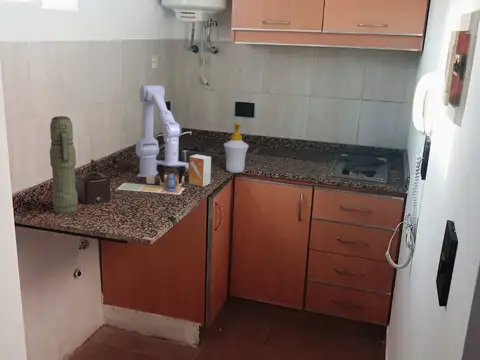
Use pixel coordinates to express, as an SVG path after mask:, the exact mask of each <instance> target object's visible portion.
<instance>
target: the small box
mask: <svg viewBox="0 0 480 360" xmlns="http://www.w3.org/2000/svg"><path fill="white" fill-rule="evenodd" d="M188 159H189V160H188V161H189V162H188V163H189V167H188V184H190V185H194V186H199V187H203V188H204V187H205V186H208V184H209V185H210V184H211V175H212V174H211V171H212V168H211V167H212V156H210V155H209V156H207V155H203V154H197V153H196V154H192V155H190V156H189V158H188Z"/></svg>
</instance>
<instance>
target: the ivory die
mask: <svg viewBox="0 0 480 360" xmlns="http://www.w3.org/2000/svg"><path fill="white" fill-rule="evenodd" d="M155 177H156V176H154V174H148V175H146V177H145V178H146V179H145V181H146V182H145V183H146V185H153V184H156V183H155V180H156V179H155Z"/></svg>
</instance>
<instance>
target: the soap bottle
mask: <svg viewBox="0 0 480 360" xmlns="http://www.w3.org/2000/svg"><path fill="white" fill-rule="evenodd" d="M233 124H234V130H235V131H233V132H232V133H233V134H231V136H230V140H228V141H227V142H224V143H223V147H224V150H225V158H226V159H225V168H226V169H225V170H226V171H227V172H228V171H229V172H228V173H233V174H239V173H242V172H244V171H245V166H246V165H245V163H246V162H245V161H246V160H245V159H246V155H247V151H248V149H249V143H247V142H244V141H243V136H242V134H241V132H240V131H239V130H240V128H242V125H241V124H240V123H239V122H234V123H233Z"/></svg>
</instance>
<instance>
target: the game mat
mask: <svg viewBox="0 0 480 360" xmlns="http://www.w3.org/2000/svg"><path fill="white" fill-rule="evenodd" d="M166 187H167V186H160V185H153V184H142V183H131V182H130V183H129V182H124V183H122V184H121V185H120V186H119V187H118V188H116V190H119V191H131V192H132V191H133V192H145V193H157V194H168V195H169V194H170V195H177V196H180V195H182V193H183V192H184V190H185V189H186V187H182V186H181V187H176V191H174V192H169V191H166ZM182 191H183V192H182Z"/></svg>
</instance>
